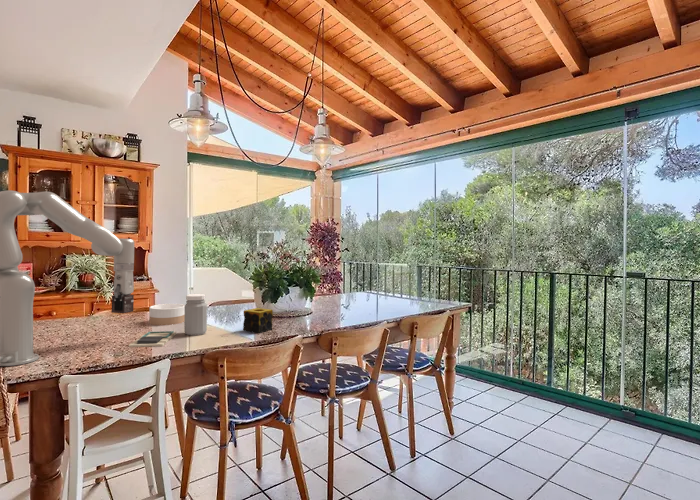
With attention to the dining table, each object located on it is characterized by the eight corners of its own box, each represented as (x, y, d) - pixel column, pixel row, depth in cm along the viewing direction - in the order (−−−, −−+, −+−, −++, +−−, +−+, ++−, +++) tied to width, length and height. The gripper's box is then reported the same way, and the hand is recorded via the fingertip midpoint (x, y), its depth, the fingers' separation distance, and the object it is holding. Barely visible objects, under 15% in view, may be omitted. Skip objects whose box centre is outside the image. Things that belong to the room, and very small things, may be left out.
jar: (197, 330, 199) (197, 292, 199) (211, 332, 194) (211, 294, 194) (179, 334, 191) (179, 295, 190) (193, 337, 186) (193, 296, 185)
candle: (242, 331, 199) (242, 310, 199) (256, 327, 208) (256, 307, 208) (259, 333, 194) (259, 312, 194) (272, 329, 203) (273, 309, 203)
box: (123, 313, 173) (123, 296, 173) (110, 312, 174) (111, 295, 174) (133, 311, 179) (134, 294, 179) (121, 310, 180) (122, 293, 180)
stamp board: (162, 346, 170) (162, 341, 170) (128, 347, 168) (128, 342, 168) (176, 333, 191) (176, 329, 191) (146, 334, 189) (146, 330, 189)
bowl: (192, 321, 221) (192, 305, 221) (162, 326, 206) (162, 310, 206) (172, 317, 230) (172, 302, 230) (142, 322, 215) (142, 306, 215)
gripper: (125, 268, 169) (124, 312, 169) (140, 266, 186) (139, 306, 186) (105, 268, 167) (104, 312, 167) (122, 266, 185) (121, 306, 185)
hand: (122, 308), depth 177 cm, fingers closed on box, 7 cm apart
